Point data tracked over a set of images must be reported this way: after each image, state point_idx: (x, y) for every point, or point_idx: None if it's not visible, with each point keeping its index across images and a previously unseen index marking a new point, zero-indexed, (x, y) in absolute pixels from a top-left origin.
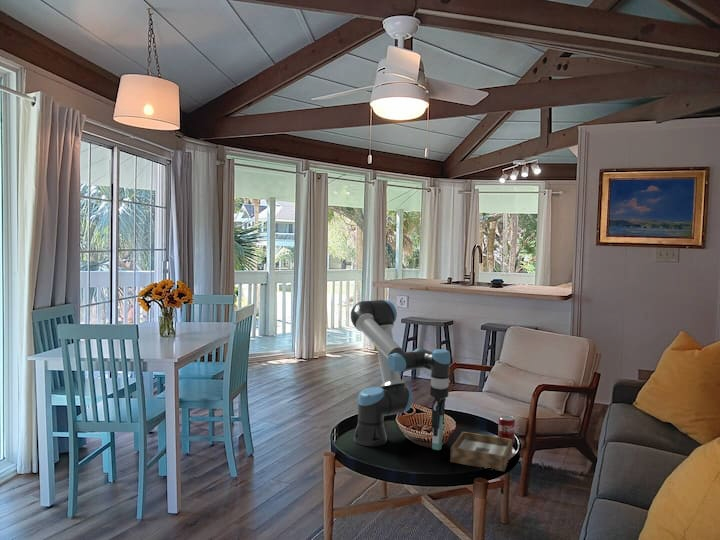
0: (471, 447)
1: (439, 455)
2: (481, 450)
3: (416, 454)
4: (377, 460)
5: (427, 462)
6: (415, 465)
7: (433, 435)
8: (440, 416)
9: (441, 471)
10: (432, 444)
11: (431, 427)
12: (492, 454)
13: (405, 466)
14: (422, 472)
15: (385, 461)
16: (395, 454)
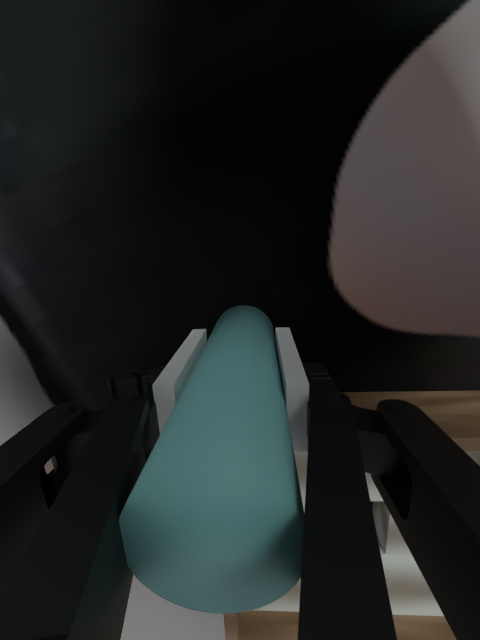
0: (372, 481)
1: (277, 327)
2: (382, 509)
3: (230, 208)
4: (17, 12)
5: (157, 299)
6: (88, 257)
7: (154, 367)
8: (202, 582)
9: (97, 386)
10: (221, 319)
11: (122, 379)
12: (227, 620)
13: (45, 213)
14: (34, 315)
15: (35, 72)
16: (166, 84)
